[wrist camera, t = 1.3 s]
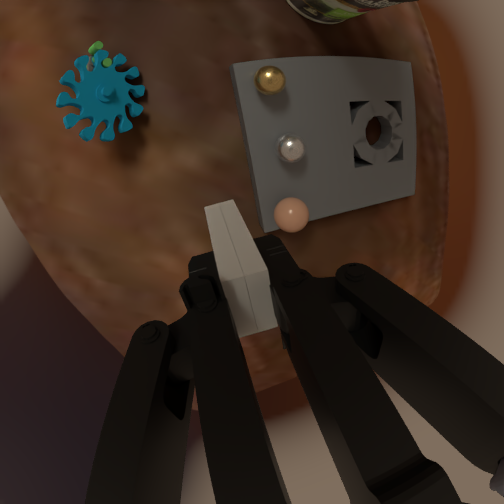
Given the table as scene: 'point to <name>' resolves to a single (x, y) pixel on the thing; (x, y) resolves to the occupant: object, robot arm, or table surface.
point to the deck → (329, 133)
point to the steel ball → (290, 147)
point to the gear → (101, 93)
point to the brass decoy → (269, 80)
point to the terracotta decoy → (291, 214)
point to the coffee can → (338, 8)
